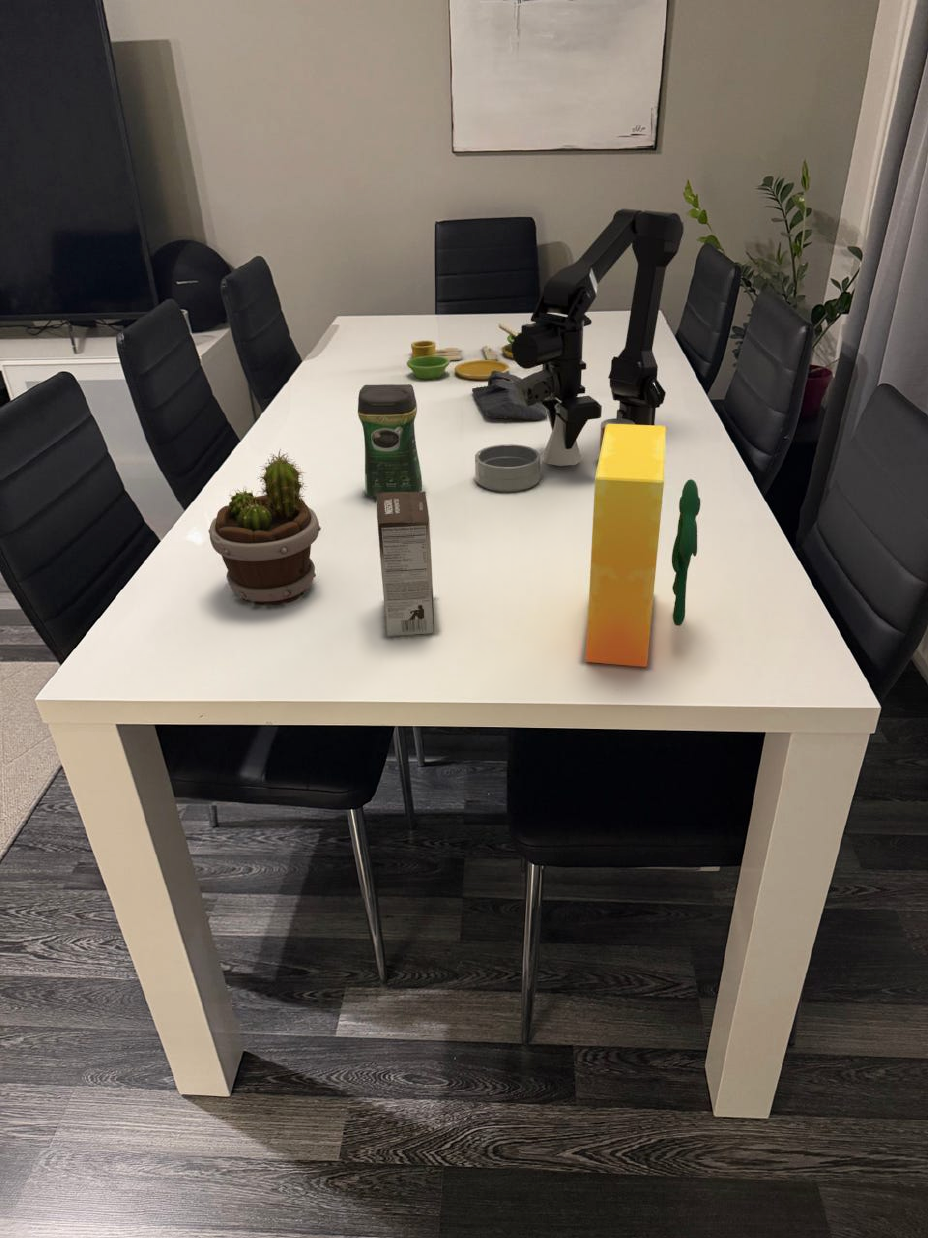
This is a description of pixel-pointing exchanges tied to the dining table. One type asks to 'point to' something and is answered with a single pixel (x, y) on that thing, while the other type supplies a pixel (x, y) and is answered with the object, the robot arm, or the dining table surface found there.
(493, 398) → the dark grey cloth
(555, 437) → the flask
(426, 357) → the tableware set
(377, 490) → the coffee jar
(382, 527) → the coffee box
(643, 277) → the robot arm
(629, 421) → the tin can
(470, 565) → the dining table surface
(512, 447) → the bowl
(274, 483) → the flowerpot
